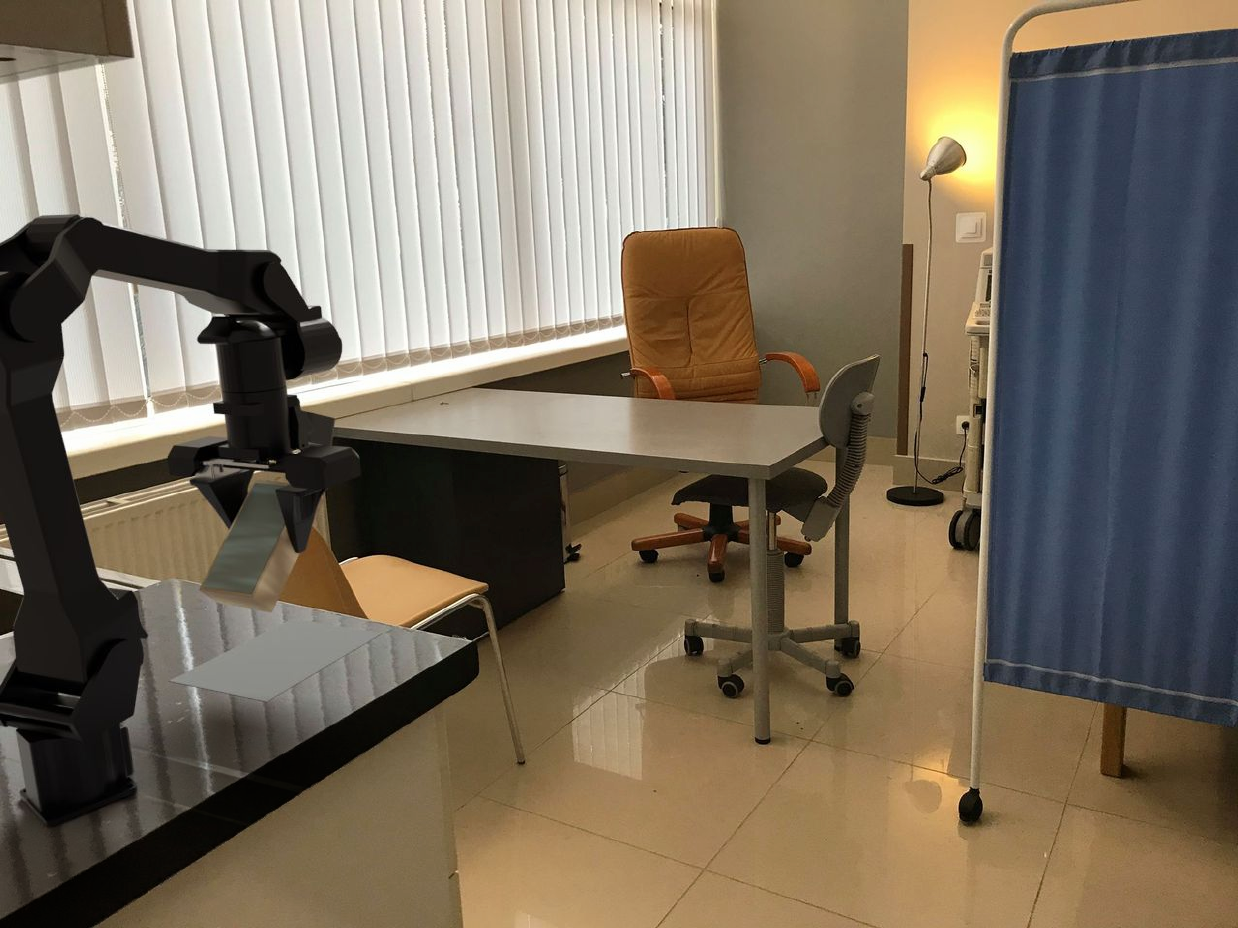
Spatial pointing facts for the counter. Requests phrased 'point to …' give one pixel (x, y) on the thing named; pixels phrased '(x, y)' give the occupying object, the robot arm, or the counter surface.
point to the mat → (276, 659)
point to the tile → (254, 553)
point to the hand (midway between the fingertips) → (272, 548)
